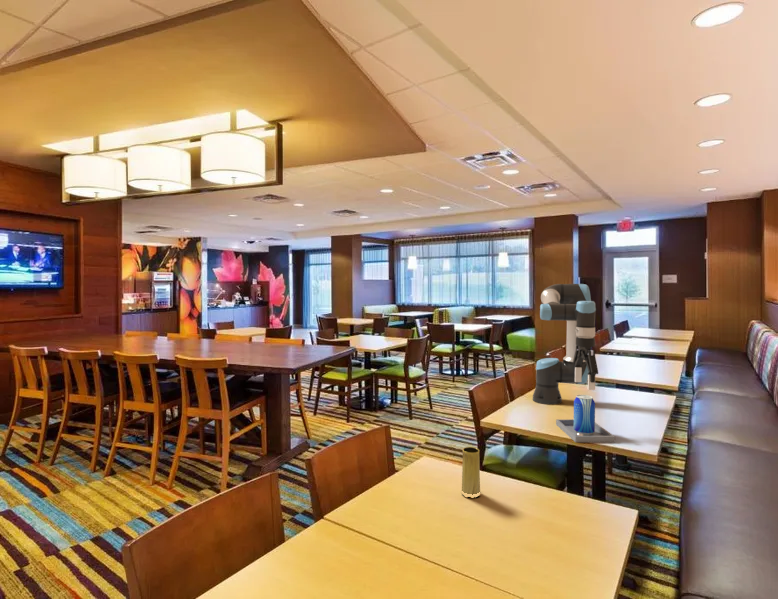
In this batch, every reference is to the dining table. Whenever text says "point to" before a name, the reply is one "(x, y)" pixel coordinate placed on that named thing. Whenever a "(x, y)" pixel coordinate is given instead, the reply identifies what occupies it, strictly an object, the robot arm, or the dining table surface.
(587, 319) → the robot arm
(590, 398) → the beer can
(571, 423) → the tray
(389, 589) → the dining table surface
